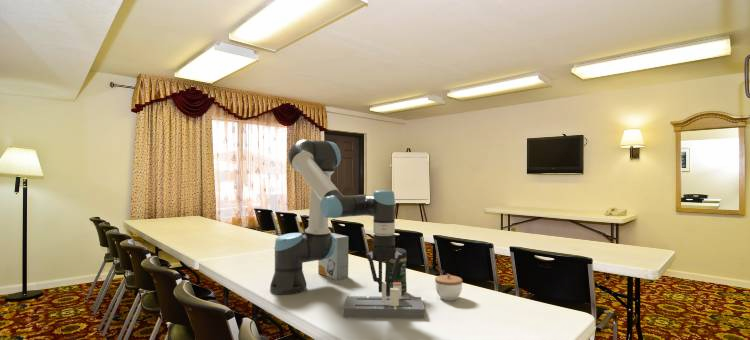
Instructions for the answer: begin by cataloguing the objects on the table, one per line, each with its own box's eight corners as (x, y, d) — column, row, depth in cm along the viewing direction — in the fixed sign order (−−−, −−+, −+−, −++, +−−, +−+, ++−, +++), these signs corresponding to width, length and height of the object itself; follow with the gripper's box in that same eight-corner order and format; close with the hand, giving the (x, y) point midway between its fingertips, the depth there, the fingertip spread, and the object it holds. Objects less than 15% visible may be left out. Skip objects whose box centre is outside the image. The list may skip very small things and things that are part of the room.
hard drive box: (317, 273, 182) (317, 233, 183) (330, 271, 188) (330, 232, 188) (336, 280, 171) (336, 237, 171) (349, 277, 176) (349, 235, 177)
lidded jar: (429, 298, 146) (429, 274, 146) (444, 292, 154) (444, 269, 154) (453, 304, 138) (453, 279, 139) (467, 297, 146) (467, 274, 146)
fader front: (390, 305, 127) (390, 290, 127) (389, 303, 129) (389, 287, 130) (398, 306, 127) (398, 290, 127) (398, 303, 129) (398, 288, 129)
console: (342, 317, 125) (342, 308, 125) (346, 303, 139) (347, 295, 139) (424, 318, 125) (424, 309, 125) (420, 304, 138) (420, 296, 138)
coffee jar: (397, 298, 145) (398, 251, 146) (381, 294, 150) (381, 249, 150) (409, 292, 153) (409, 247, 154) (393, 288, 158) (393, 245, 158)
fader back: (393, 299, 134) (393, 284, 134) (393, 297, 136) (393, 282, 136) (401, 299, 134) (401, 284, 134) (401, 297, 136) (401, 282, 136)
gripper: (365, 235, 125) (364, 305, 125) (403, 235, 125) (403, 305, 124) (366, 232, 133) (366, 297, 132) (402, 232, 132) (402, 298, 132)
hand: (383, 301), depth 128 cm, fingers closed
